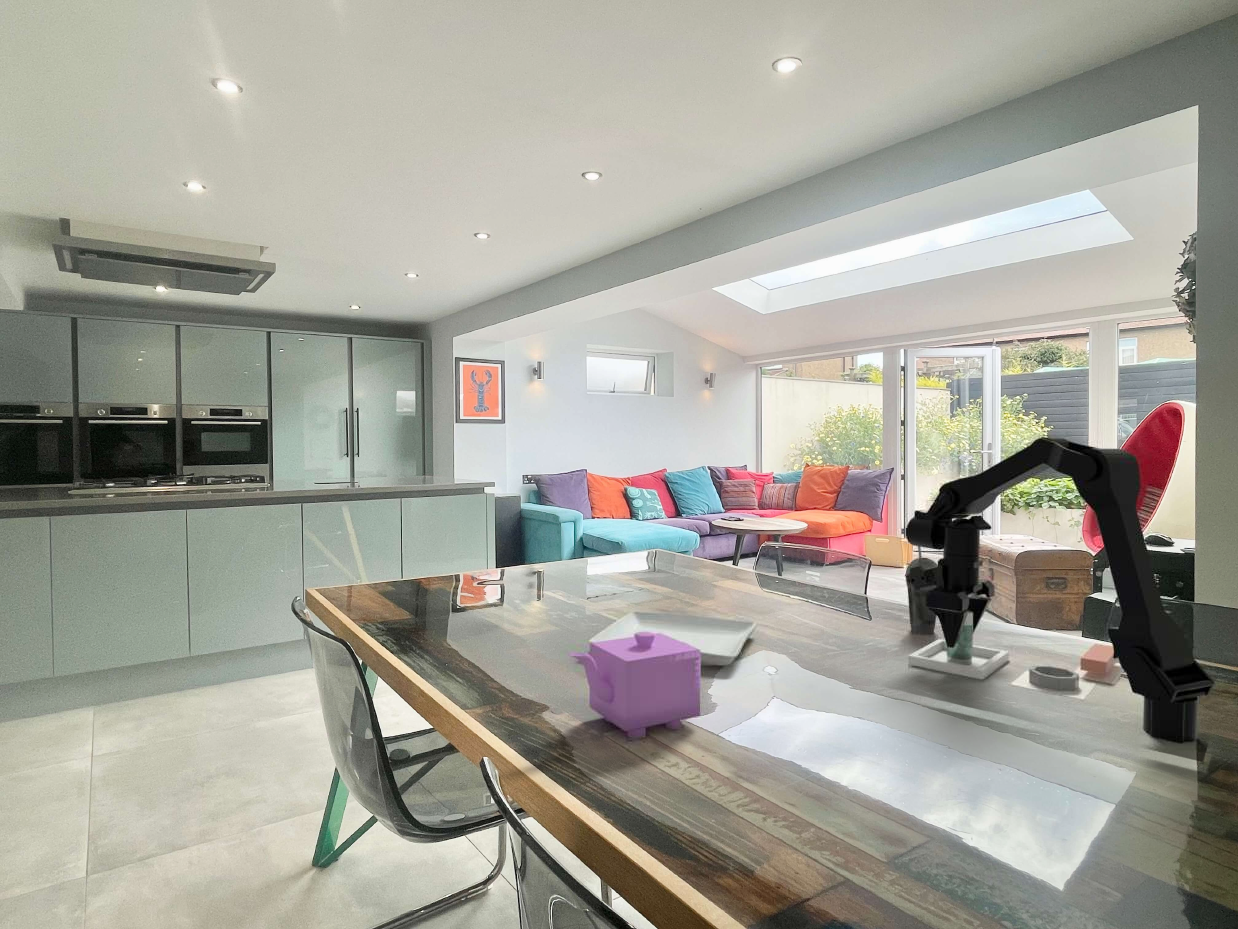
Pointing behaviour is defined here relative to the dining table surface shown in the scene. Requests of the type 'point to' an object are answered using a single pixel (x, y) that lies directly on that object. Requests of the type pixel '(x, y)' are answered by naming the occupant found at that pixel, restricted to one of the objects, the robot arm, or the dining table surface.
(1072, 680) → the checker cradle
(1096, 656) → the bar
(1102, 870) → the dining table surface
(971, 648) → the silver cell
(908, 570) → the beverage cup
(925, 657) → the white rectangular tray
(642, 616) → the square plate
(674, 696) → the teapot
